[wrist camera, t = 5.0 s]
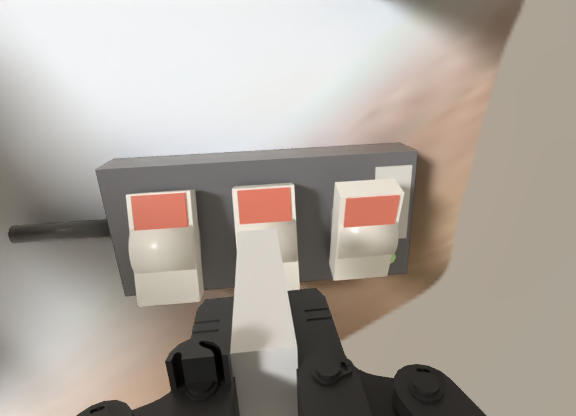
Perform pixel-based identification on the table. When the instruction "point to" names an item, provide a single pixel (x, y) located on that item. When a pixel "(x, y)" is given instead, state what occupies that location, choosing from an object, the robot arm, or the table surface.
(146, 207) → the rocker
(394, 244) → the rocker
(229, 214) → the rocker switch panel
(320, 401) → the robot arm
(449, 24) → the table surface
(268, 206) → the rocker
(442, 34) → the table surface
